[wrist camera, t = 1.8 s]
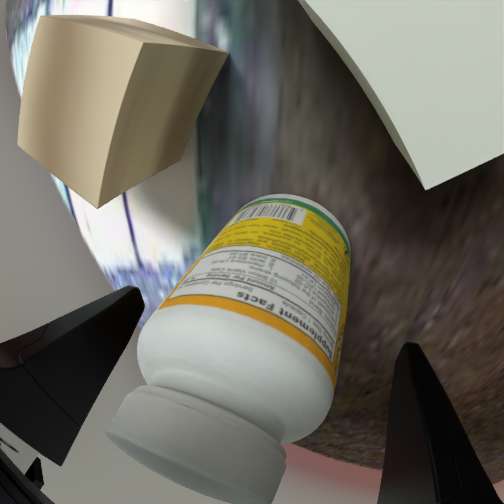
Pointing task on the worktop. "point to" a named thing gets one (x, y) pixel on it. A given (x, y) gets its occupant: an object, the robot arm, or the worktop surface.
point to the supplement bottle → (242, 353)
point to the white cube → (426, 75)
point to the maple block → (111, 100)
